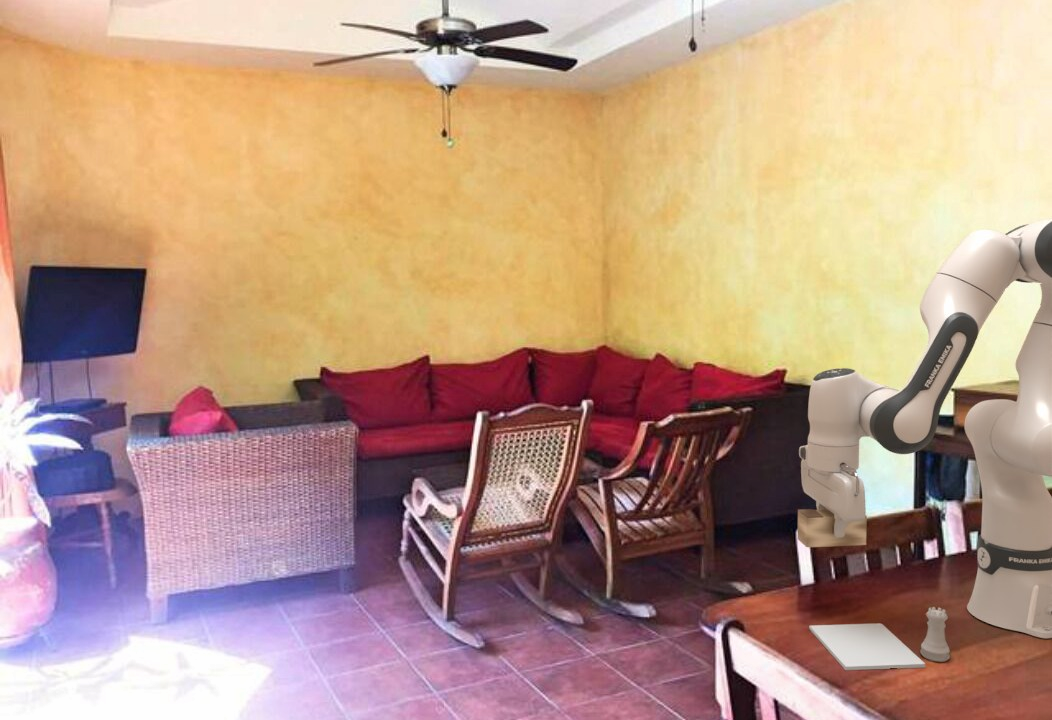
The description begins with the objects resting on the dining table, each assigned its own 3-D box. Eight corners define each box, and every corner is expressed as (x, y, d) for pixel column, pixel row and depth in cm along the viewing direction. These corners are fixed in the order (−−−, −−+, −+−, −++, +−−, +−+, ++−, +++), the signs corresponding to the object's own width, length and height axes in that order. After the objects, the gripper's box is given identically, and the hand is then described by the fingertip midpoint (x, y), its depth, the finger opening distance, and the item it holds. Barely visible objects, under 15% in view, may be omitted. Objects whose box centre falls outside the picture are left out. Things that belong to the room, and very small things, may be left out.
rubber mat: (880, 626, 146) (881, 623, 146) (925, 667, 131) (925, 663, 131) (809, 628, 146) (809, 625, 146) (845, 670, 131) (845, 666, 131)
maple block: (855, 536, 154) (855, 507, 154) (866, 544, 150) (866, 514, 149) (797, 539, 154) (797, 509, 153) (806, 547, 149) (807, 516, 149)
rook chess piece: (953, 664, 132) (956, 616, 131) (923, 661, 133) (926, 614, 132) (945, 651, 137) (947, 605, 136) (916, 649, 138) (918, 603, 137)
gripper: (876, 470, 140) (874, 549, 141) (827, 444, 160) (826, 513, 162) (840, 472, 140) (838, 550, 141) (795, 446, 160) (794, 514, 162)
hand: (831, 530), depth 152 cm, fingers closed on maple block, 4 cm apart
